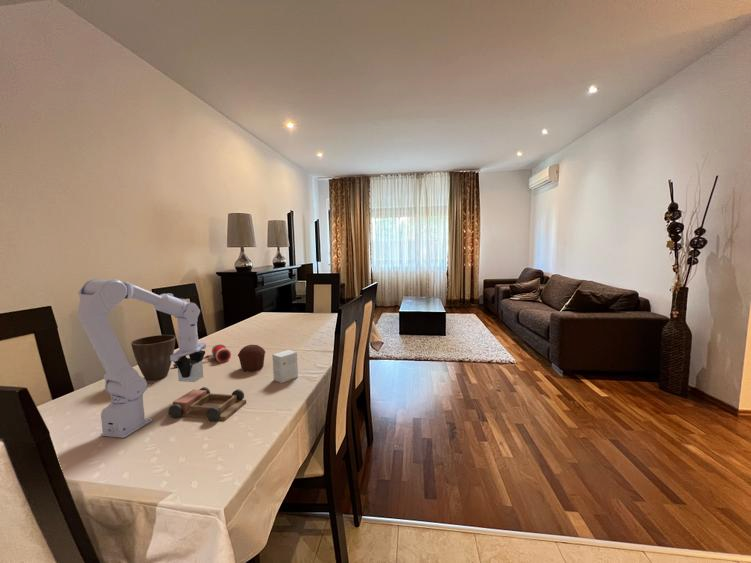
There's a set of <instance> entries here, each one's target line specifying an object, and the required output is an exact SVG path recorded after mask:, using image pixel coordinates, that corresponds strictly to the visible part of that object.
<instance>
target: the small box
mask: <svg viewBox="0 0 751 563" xmlns="http://www.w3.org/2000/svg"><path fill="white" fill-rule="evenodd" d="M272 371H273V373H272V374H273V381H274V382H275V381H276V382H278V383H280V384H283V383H285V382H288V381H291V380H293V379H296V378H298V377H299V370H298V352H297V351H294V350H291V349H287V350H283V351H280V352H277V353H273V354H272Z"/></svg>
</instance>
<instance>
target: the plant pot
mask: <svg viewBox="0 0 751 563" xmlns="http://www.w3.org/2000/svg"><path fill="white" fill-rule="evenodd" d="M130 344H131V345H130V346H131V349H132V352H133V355H134V358H135V361H136V364H137V365H138V368H139V370H140V372H141V374H142V376H143V378H144V379H145V380H146V381H148V380H149V381H150V380H153V381H158V379H159V380H162V379H165V378H167V377H168V375H169V372H170V368H171V366H172V363H173V361H171V360H170V355H172V354H174V353H175V346H176V335H173V334H157V335H149V336H145V337H141V338H137V339H134V340H132V341H131V342H130ZM164 377H165V378H164ZM149 381H148V382H149ZM150 382H151V381H150Z"/></svg>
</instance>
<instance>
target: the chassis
mask: <svg viewBox="0 0 751 563" xmlns="http://www.w3.org/2000/svg"><path fill="white" fill-rule="evenodd" d="M244 398H245V392H244V391H243V390H241V389H240V388H239V389H235V390H234V391H232V393H231V394H223V393H212V392H211V391H210V389H209V387H205V386H203V387H201V388H199V389H192V390H190V391H188V392H186V393H185V394H184V395H182V396H180V397H178V398H177V399H175V400H174V401H172V405H171V406H170V407H169V408H168V414H167V415H168V416H169V417H171V418H172V419H178V418H180V417H183V418H184V417H185V418H195V417H196V418H198V419H207V418H208V419H207V420H208V421H210V422H216V421H218V420H221V421H226V420H228V419H229V418H230V417H231V416H232V415H234V414H235V413H236V412H237V411H239V410H240V409H241V408H242V407H244V406H245V405H246V404H247V399H244Z"/></svg>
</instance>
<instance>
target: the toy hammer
mask: <svg viewBox="0 0 751 563" xmlns="http://www.w3.org/2000/svg"><path fill="white" fill-rule="evenodd" d="M231 357H232V353H231V350H229V349H228V348H227V347H226V346H225V345H224V344H223V343H217V344H215V345H213V346H212V348H211V354H207V355H204V356H203V359H202V361H203V360H207V359H209V358H215V359H216V361H218V362H219V363H225V362H228V361H229V360H230V358H231ZM224 361H225V362H224ZM172 366H173V368H174V369H177V368H178V367H177V365H176V364H175V363H174V364H173V365H172ZM176 367H177V368H176Z"/></svg>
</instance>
